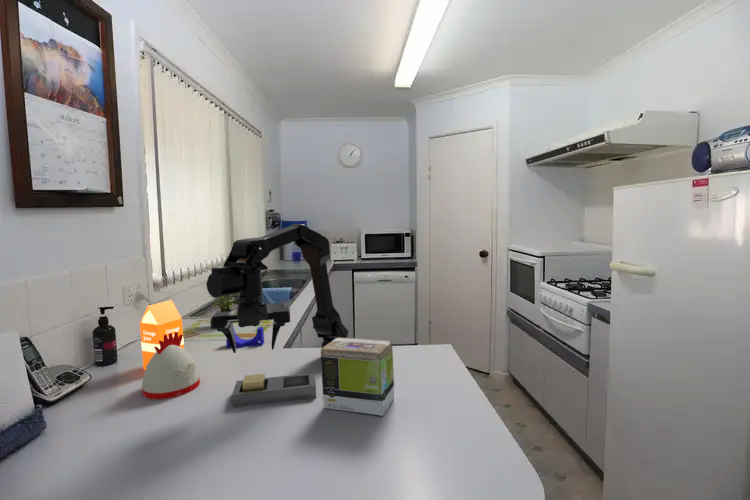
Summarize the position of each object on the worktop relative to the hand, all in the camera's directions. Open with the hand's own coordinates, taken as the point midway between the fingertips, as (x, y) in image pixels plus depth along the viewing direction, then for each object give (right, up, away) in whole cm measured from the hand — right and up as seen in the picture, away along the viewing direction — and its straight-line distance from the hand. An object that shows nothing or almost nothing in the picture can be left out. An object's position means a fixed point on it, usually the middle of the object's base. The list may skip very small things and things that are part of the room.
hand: (253, 350), depth 102 cm
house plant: (-34, -7, +69) cm, 77 cm away
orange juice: (-35, -11, +24) cm, 44 cm away
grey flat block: (+5, -12, +1) cm, 13 cm away
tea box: (+27, -12, -5) cm, 30 cm away
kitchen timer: (-25, -12, +8) cm, 29 cm away
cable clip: (-15, -9, +42) cm, 46 cm away
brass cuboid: (0, -12, 0) cm, 12 cm away
